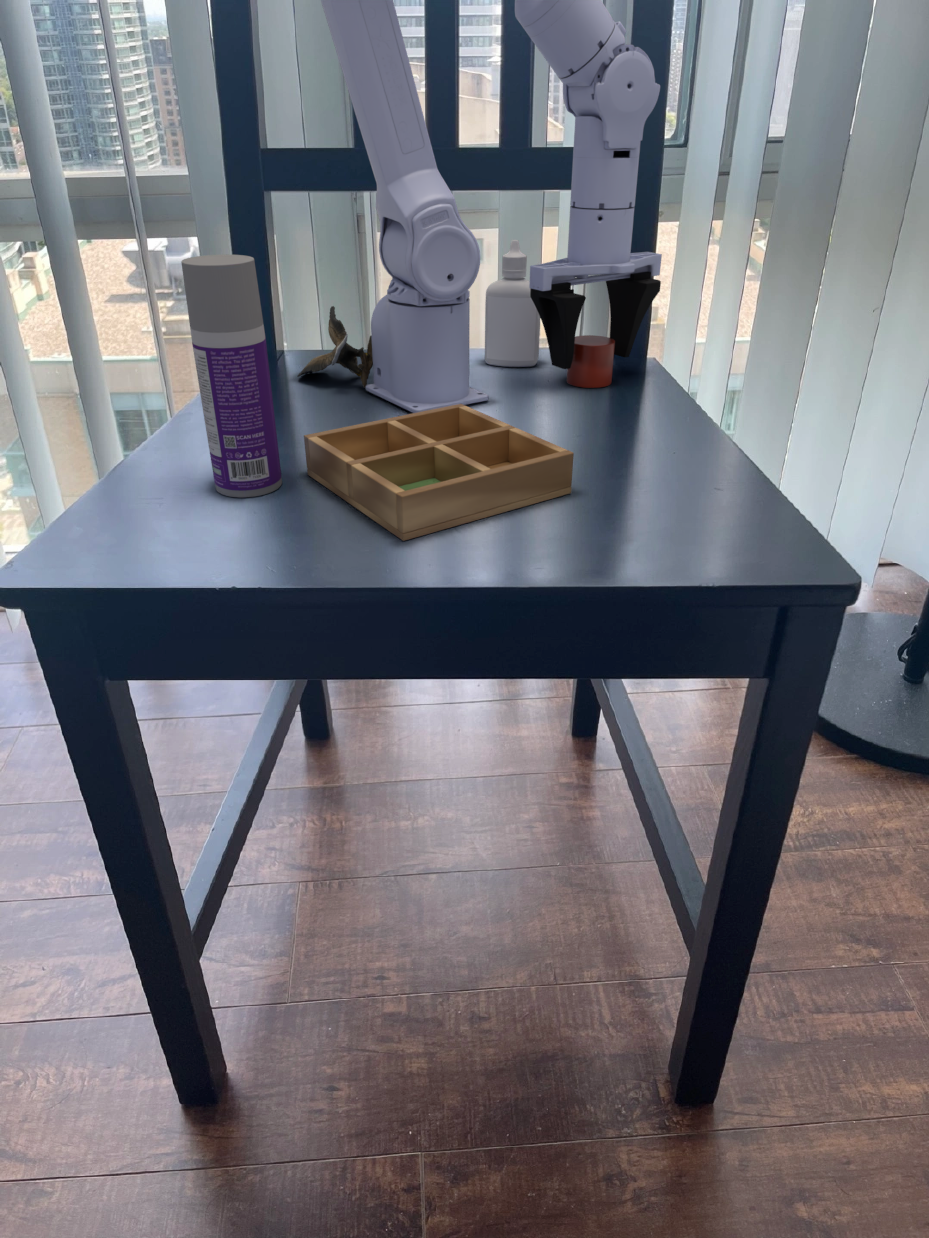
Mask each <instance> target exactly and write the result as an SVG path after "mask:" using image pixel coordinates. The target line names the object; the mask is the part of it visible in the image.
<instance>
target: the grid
mask: <svg viewBox="0 0 929 1238" xmlns="http://www.w3.org/2000/svg"><path fill="white" fill-rule="evenodd" d="M303 440H304V451H305V464H306V473H307V476H309V477H310V478H312V479H314V480H315V481H316V482H318V483H319V484H321V485H322V486H323V487H325V488H326V489H327V490H329V491H330V492H332V493H333V494H335V495H337V496H338V497H339V498H340V499H343V500H344V501H345V502H346V503H348V504H350V505H351V506H352V507H354V508H355V509H356V510H358V511H359V512H361V513H362V514H364V515H366V517H368V518H370V519H371V520H372V521H374V522H376V523H377V524H378V525H380V527H382V528H383V529H385V530H386V531H388V532H389V533H391V534H392V535H394V536H395V537H397V538H398V539H400V540H401V541H402V542H404V541H408V540H411V539H415V538H418V537H422V536H426V535H429V534H433V533H436V532H440V531H444V530H446V529H447V530H448V529H450V528H454V527H458V526H461V525H465V524H467V523H472V522H476V521H479V520H482V519H486V518H489V517H493V516H497V515H499V514H503V513H506V512H509V511H510V512H511V511H514V510H517V509H521V508H525V507H528V506H531V505H534V504H538V503H541V502H545V501H549V500H552V499H556V498H559V497H562V496H566V495H570V494H572V483H573V471H574V469H573V468H574V454H575V453H574V452H573V451H571V450H569V449H566V448H564V447H561V446H559V445H557V444H555V443H553V442H550V441H548V440H545V439H543V438H541V437H539V436H537V435H534V434H532V433H529V432H527V431H525V430H523V429H520V428H518V427H515V426H513V425H511V424H509V423H507V422H504V421H502V420H500V419H497V418H495V417H493V416H491V415H488V414H486V413H483V412H481V411H479V410H476V409H474V408H472V407H469V406H468V405H463V404H457V405H452V406H447V407H442V408H437V409H432V410H427V411H422V412H417V413H412V412H411V413H408V414H402V415H398V416H392V417H388V418H383V419H377V420H374V421H368V422H363V423H358V424H353V425H349V426H348V425H347V426H343V427H338V428H334V429H333V428H332V429H329V430H324V431H317V432H314V433H309V434H304V435H303Z"/></svg>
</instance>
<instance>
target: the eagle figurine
mask: <svg viewBox="0 0 929 1238" xmlns="http://www.w3.org/2000/svg"><path fill="white" fill-rule="evenodd" d="M335 310H336V307H335V306H334V305H332V306H331V307H330V308H329V315H328V317H329V320H328V327H327V329H328V336H329V338H330V340H331V342H332V343H333V345H334V348H333V349H332V351H330V352H327V353H325V354H321V355H318V356H315V357H313V358H312V359H311V360H310V361H309V362H308V363H307V364H306V365H305V366H304V367H303V368H302V370H301V371H300V372H299V373H298V374H297V377H296V378H299V377H301V376H304V375H308V374H312V373H318V372H320V371H324V370H325V369H327V368H328V367H329V366H330V365H331V366H332V367H333V366H335V365H336V364H339V365H340V366H342V367H343V368H345V369H348V371H349V372H350V373H352V374H355V375H356V376H358V377H360V381H361V385H362V387H363V388H365V389H366V385H368V379H369V376H370V374H371V369H373V357H372V339H371V335H370V336H369V338H368V341H367V342H368V343H367V347H366V348H367V349H366V352H365V347H363V346H362V347H361V348H355V347H353V346H352V345H351V344H349V343H348V336H349V335H348V333H347V331H346V328H345V325H344V324H343V323H342V321H341V319H337V314H336V311H335ZM358 358H360V361H361V363H358Z"/></svg>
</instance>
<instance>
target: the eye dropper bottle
mask: <svg viewBox="0 0 929 1238" xmlns="http://www.w3.org/2000/svg"><path fill="white" fill-rule="evenodd" d="M527 260H528V256H527V255H526V254H524V253H523V252H522V251H521V248H520V241H519V240H518V239H511V241H510V246H509V250H508V252H507V253H504V254H503V255H502V259H501V261H502V262H501V276H502V279H501V278H500V279H498V280H496V281H493V282H491V283H490V284H489V285H488V286H487V287H486V290H485V305H484V309H485V310H484V312H485V313H484V361H485V363H486V364H488V365H490V366H497V367H504V368H505V367H506V368H529V367H534V366H535V365H537V363H538V361H539V358H540V340H541V339H540V338H541V337H540V335H541V318H540V315H539V313H538V311H537V309H536V307H535V304H534V303H533V301H532V299H531V297H530V289H531V288H529V284H530V279H529V280H528V279H526V277H527V263H528V261H527Z"/></svg>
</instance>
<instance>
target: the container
mask: <svg viewBox="0 0 929 1238" xmlns="http://www.w3.org/2000/svg"><path fill="white" fill-rule="evenodd" d="M180 264H181V271H182V277H183V284H184V291H185V299H186V300H185V301H186V308H187V313H188V314H187V315H188V322H189V323H188V324H189V329H190V338H191V345H192V350H193V357H194V364H195V369H196V377H197V382H198V388H199V395H200V401H201V407H202V413H203V418H204V426H205V431H206V432H205V433H206V437H207V444H208V450H209V456H210V464H211V469H212V474H213V475H212V476H213V481H214V487H215V490H216V492H218V493H219V494H221V495H222V496H226V497H231V498H255V497H260V496H265V495H268V494H271V493H273V492H275V491H276V490H278V489H279V488H280V487H281V486H282V485H283V479H282V478H283V477H282V468H281V460H280V451H279V443H278V434H277V425H276V415H275V407H274V398H273V389H272V382H271V373H270V365H269V356H268V347H267V339H266V333H265V326H264V317H263V310H262V305H261V298H260V297H261V296H260V290H259V283H258V276H257V269H256V263H255V258H254V257H253V256H250V255H243V254H207V255H196V256H190V257H187V258H184V259H182V260H181V261H180Z"/></svg>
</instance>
